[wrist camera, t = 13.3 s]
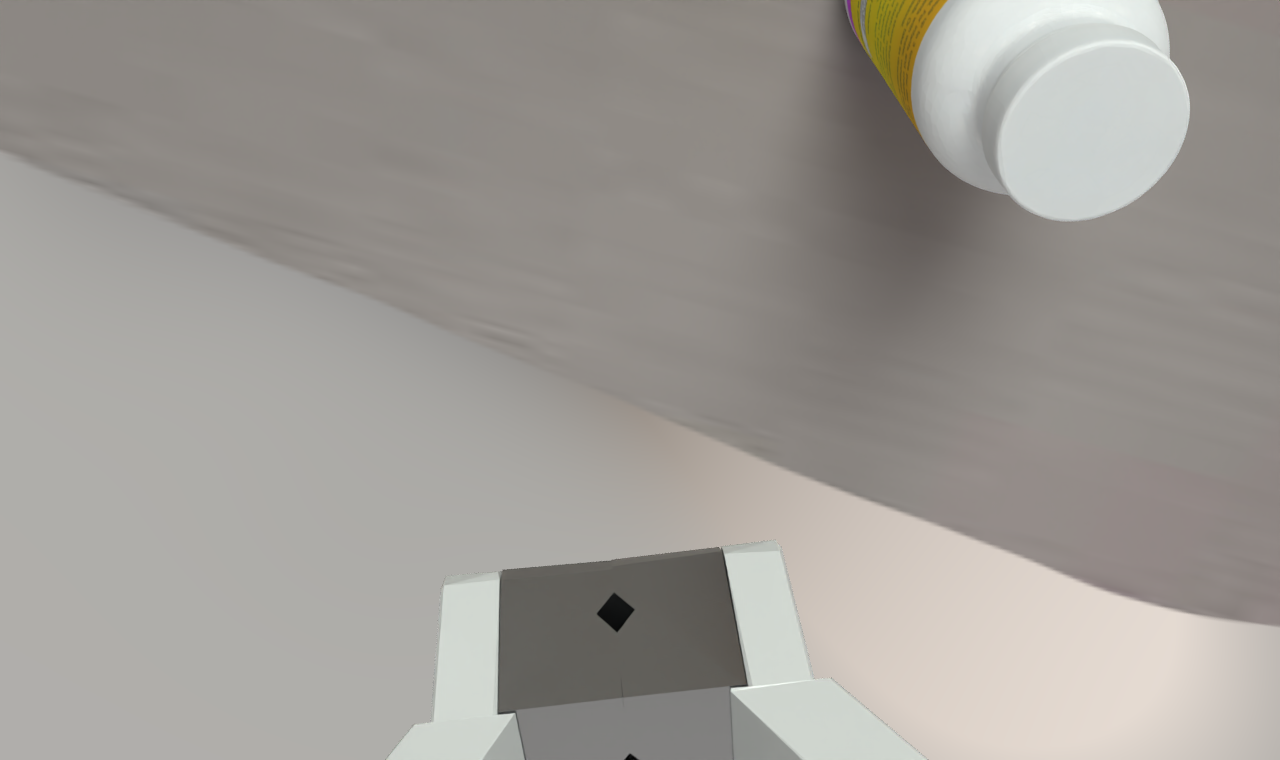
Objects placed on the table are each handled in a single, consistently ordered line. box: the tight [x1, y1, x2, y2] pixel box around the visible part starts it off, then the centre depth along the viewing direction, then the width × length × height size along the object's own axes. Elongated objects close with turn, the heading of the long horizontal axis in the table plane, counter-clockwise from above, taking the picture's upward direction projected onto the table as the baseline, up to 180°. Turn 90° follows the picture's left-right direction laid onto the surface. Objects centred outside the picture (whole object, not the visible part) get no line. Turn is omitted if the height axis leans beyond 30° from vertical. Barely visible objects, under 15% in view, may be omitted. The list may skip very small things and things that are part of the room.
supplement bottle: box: [845, 0, 1190, 221], centre depth 34 cm, size 7×7×13 cm
